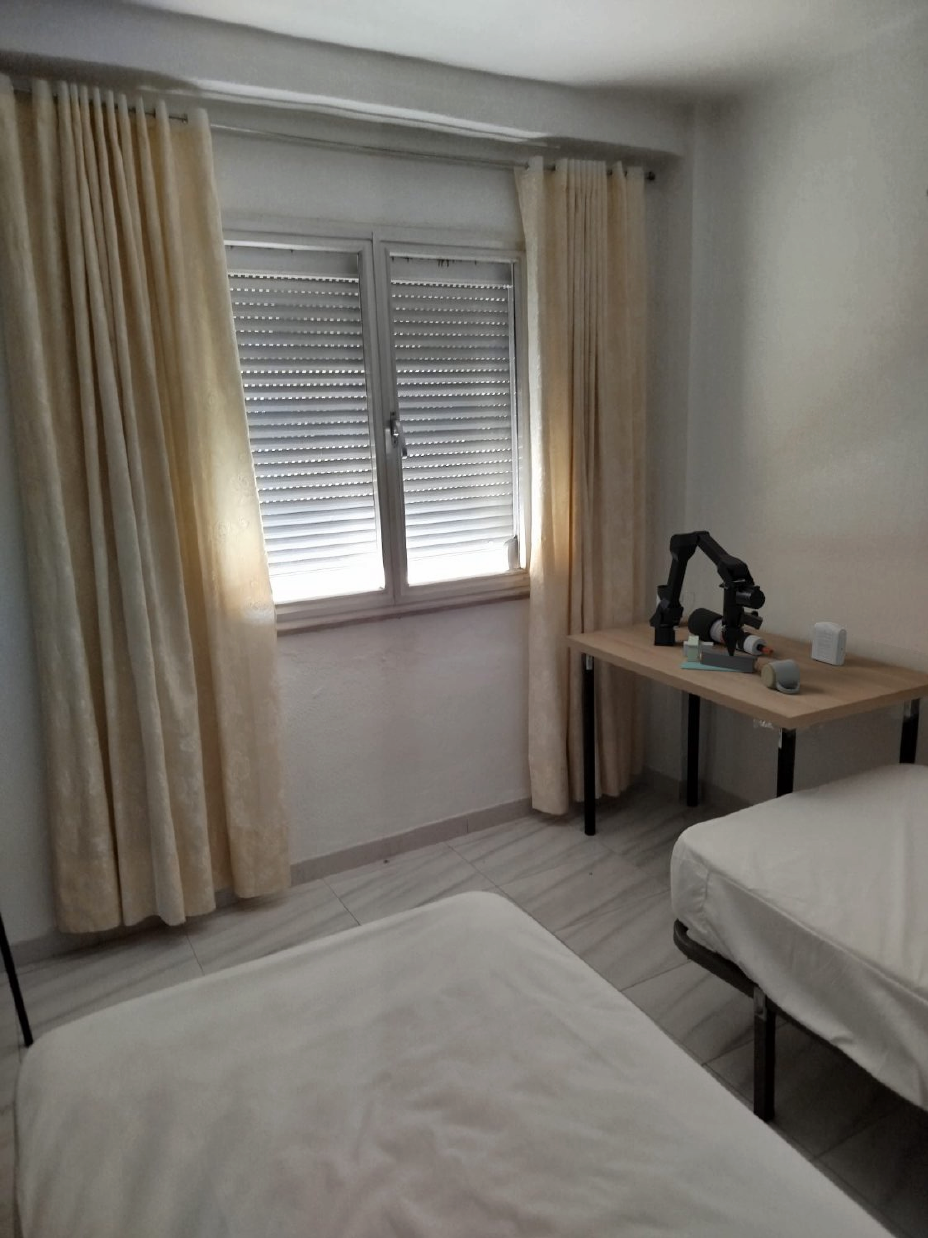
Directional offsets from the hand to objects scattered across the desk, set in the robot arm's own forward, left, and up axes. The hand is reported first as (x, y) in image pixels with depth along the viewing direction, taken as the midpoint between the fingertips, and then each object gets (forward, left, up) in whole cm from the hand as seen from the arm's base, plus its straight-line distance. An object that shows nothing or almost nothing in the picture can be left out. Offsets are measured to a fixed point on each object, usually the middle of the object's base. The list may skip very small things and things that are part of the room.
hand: (731, 654), depth 241 cm
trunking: (-10, +13, -4) cm, 17 cm away
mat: (-5, 0, -4) cm, 7 cm away
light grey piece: (-12, +10, -4) cm, 16 cm away
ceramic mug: (+14, -18, -5) cm, 23 cm away
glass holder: (-20, +53, -5) cm, 57 cm away
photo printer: (+28, +13, -5) cm, 32 cm away
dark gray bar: (0, +2, -2) cm, 3 cm away
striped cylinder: (+1, +26, -5) cm, 26 cm away
